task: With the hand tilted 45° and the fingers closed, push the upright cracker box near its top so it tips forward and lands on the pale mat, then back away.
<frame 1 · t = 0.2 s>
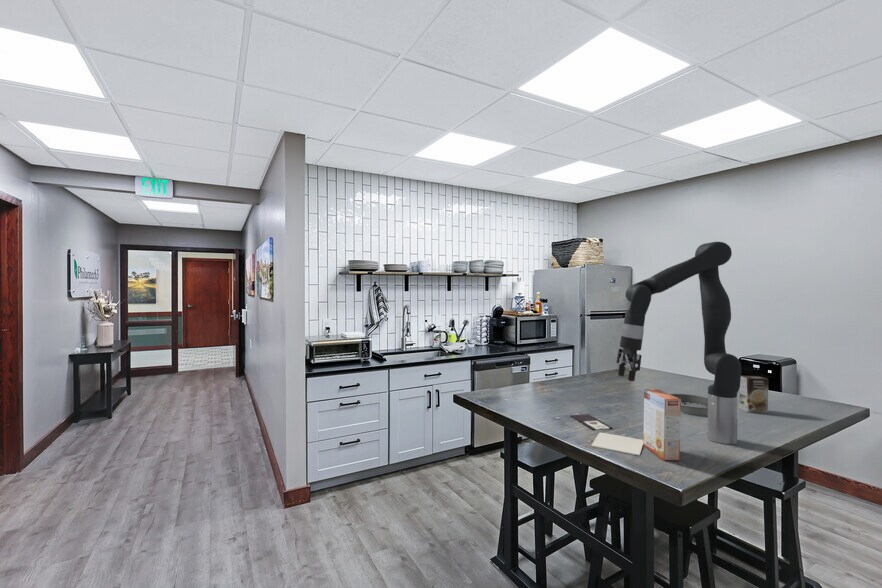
hand: (625, 378, 159), 23 cm above the table, tool pointing down, fingers open, 8 cm apart
chocolate bar: (590, 423, 178), on the table
cracker box: (661, 453, 145), on the table
cake pan: (691, 409, 199), on the table
coffee box: (753, 411, 195), on the table
mat: (618, 443, 154), on the table
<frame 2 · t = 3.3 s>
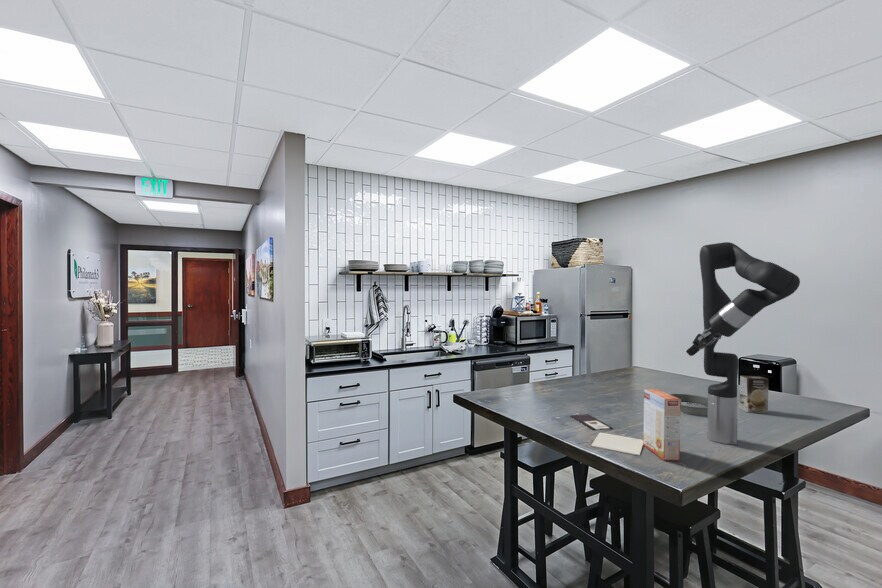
hand: (689, 353, 138), 36 cm above the table, tool tilted 45°, fingers closed
nothing on the table moved.
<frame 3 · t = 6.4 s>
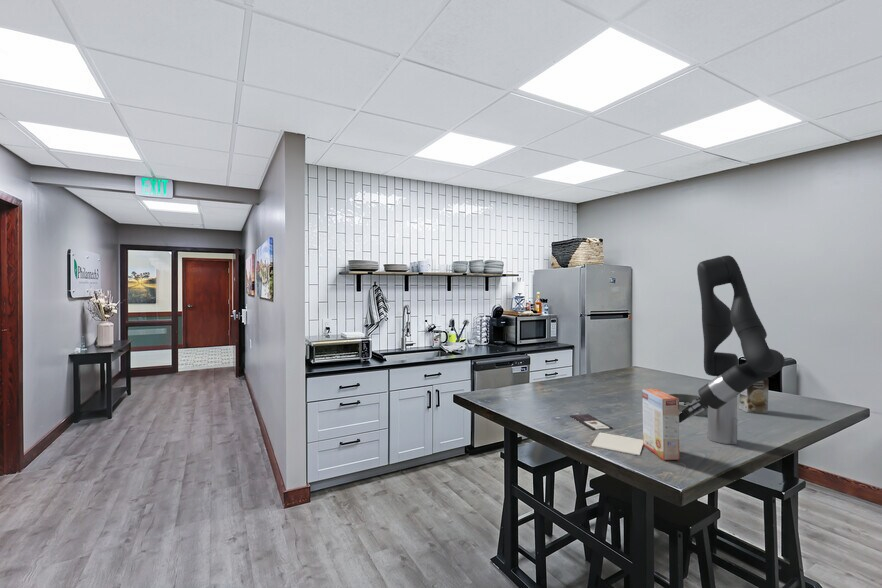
hand: (677, 420, 141), 13 cm above the table, tool tilted 45°, fingers closed
nothing on the table moved.
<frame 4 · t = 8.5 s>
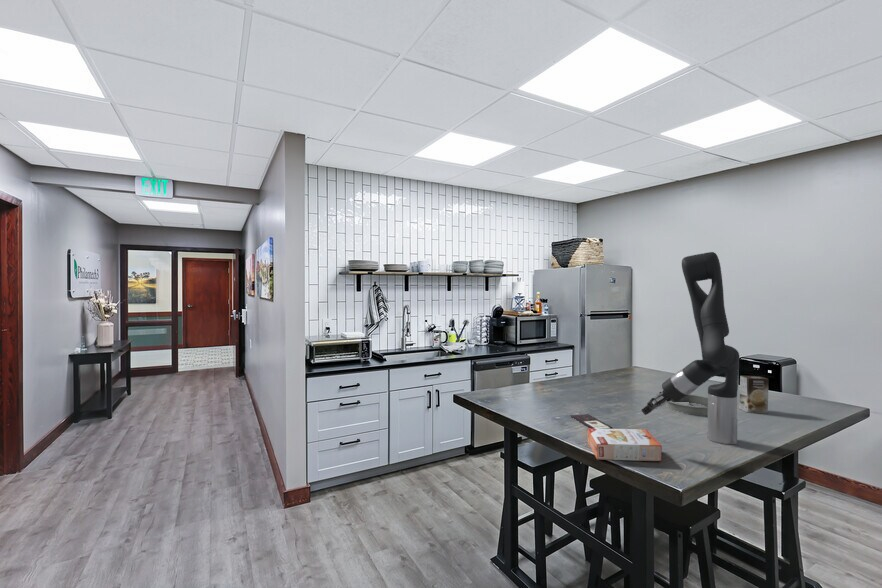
hand: (644, 412, 150), 13 cm above the table, tool tilted 45°, fingers closed
cracker box: (654, 444, 143), point 4 cm above the table, touching mat
everything else where it was.
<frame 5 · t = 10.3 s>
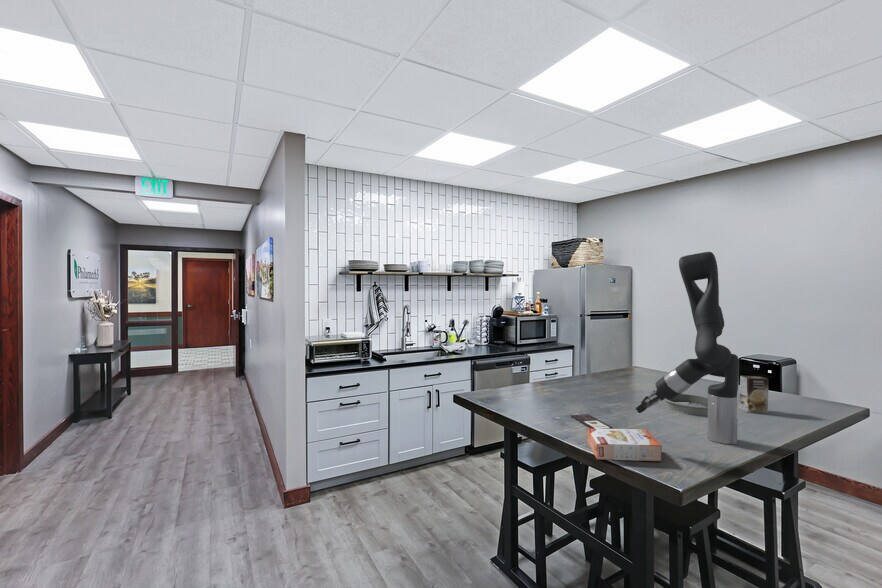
hand: (638, 410, 151), 13 cm above the table, tool tilted 45°, fingers closed
nothing on the table moved.
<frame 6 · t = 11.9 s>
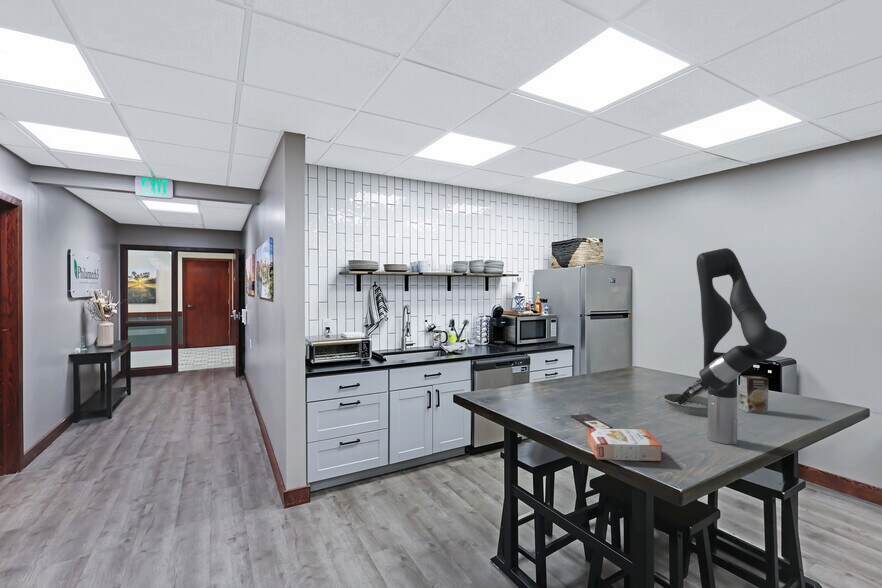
hand: (678, 402, 141), 19 cm above the table, tool tilted 45°, fingers closed
nothing on the table moved.
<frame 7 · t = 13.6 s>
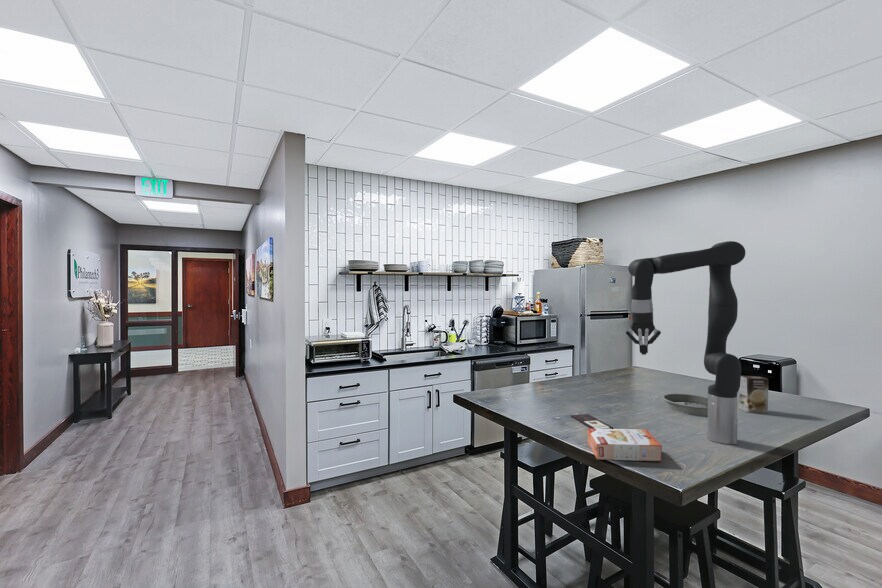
hand: (643, 354, 163), 32 cm above the table, tool pointing down, fingers closed
nothing on the table moved.
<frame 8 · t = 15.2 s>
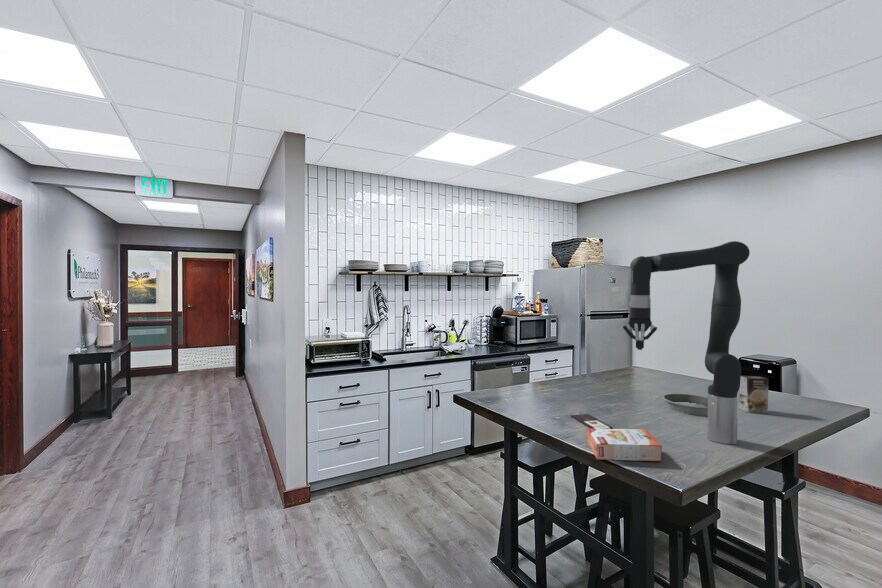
hand: (639, 349, 167), 33 cm above the table, tool pointing down, fingers closed
nothing on the table moved.
at the end: cracker box tilted 92°; cracker box inside the target area (10.8 cm from its centre), point 3.7 cm above the table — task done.
